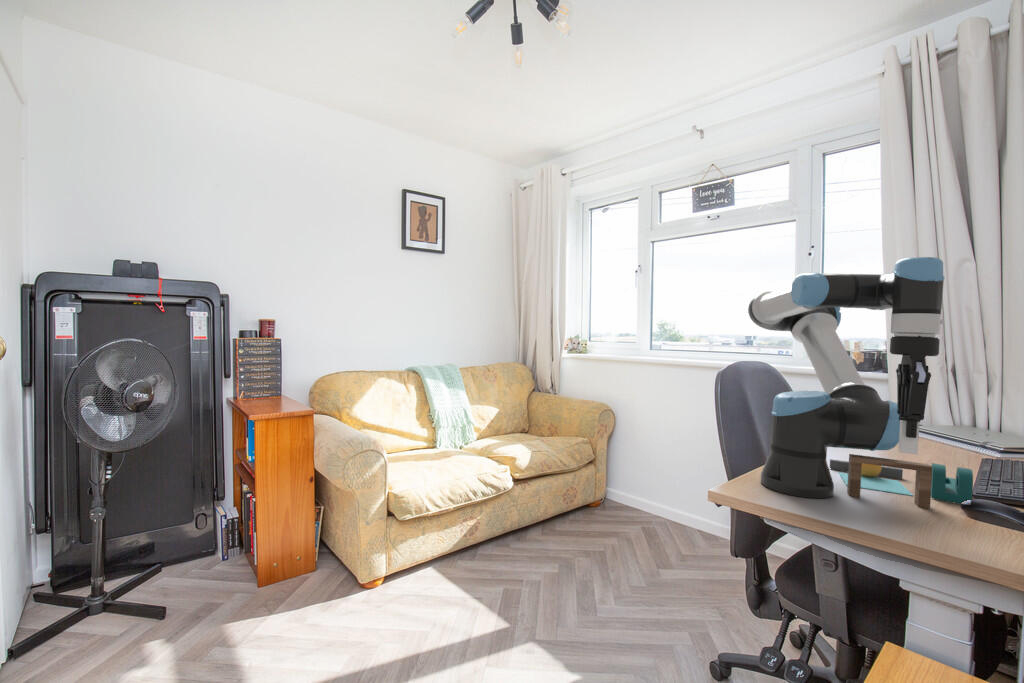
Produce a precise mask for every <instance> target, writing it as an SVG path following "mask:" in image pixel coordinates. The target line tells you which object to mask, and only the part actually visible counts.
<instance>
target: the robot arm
mask: <svg viewBox="0 0 1024 683" xmlns="http://www.w3.org/2000/svg"><path fill="white" fill-rule="evenodd" d="M944 281H945V275H944V261H943V259H940V258H938V257H933V256H932V257H931V256H916V257H908V258H902V259H899V260H897V261H896V262H895V264H894V269H893V271H892V273H886V274H878V273H877V274H873V273H872V274H871V273H870V274H869V273H868V274H866V273H865V274H864V273H863V274H862V273H855V274H854V273H846V274H845V273H820V272H810V273H800V274H798V275H796V277H795V278H794V280H793V281H792V284H791V285H789V286H786V287H783V288H781V289H778V290H777V291H776V290H775V291H765V292H762V293H759V294H757V295H756V296H754V297H753V298H752V299H751V301H750V302H749V304H748V307H747V308H748V309H747V311H748V312H747V313H748V315H749V319H751V321H752V322H753V323H754V324H755V325H757V327H759V328H762V329H765V330H767V331H768V330H769V331H775V332H777V331H778V332H791V335H792V337H793V339H794V340H795V341H797V342H799V343H801V344H802V345H803V347H804V349H805V352H806V353H807V356H808V358H809V361H810V363H811V365H812V367H813V369H814V371H815V373H816V376H817V378H818V380H819V382H820V385H821V387H822V388H823V391H820V390H810V391H809V390H794V391H785V392H781V393H778V394H776V395H775V397H774V398H773V402H772V409H771V412H770V413H771V426H770V427H771V428H770V432H771V433H770V449H769V450H770V451H769V454H768V456H767V459H766V461H765V463H764V466H763V467H762V470H761V473H760V474H761V475H760V483H761V484H762V485H763V486H764V487H766V488H768V489H770V490H774V491H776V492H779V493H782V494H786V495H791V496H794V497H795V496H796V497H801V498H807V499H808V498H811V499H827V498H832V497H833V496H834V492H835V485H834V482H833V478H832V475H831V471H830V468H829V466H828V462H827V457H828V456H827V454H828V453H827V451H828V448H837V449H839V448H840V449H850V450H851V449H853V450H864V451H865V450H867V451H870V452H875V451H890V450H893V449H894V448H895V447H896V446H897V445H898V452H900V453H904V454H909V455H917V456H918V453H919V437H920V436H919V435H920V423H921V421H923V420H924V419H925V412H926V404H927V397H928V396H927V395H928V390H929V384H930V382H931V377H932V374H931V372H929V365H927V362H926V357H938V355H940V343H941V342H940V339H939V337H936V335H937V336H938V335H939V334H940V332H941V325H943V324H945V320H944V319H941V318H942V317H941V315H942V306H943V295H944V294H943V293H944V292H943V291H944ZM841 308H844V309H845V308H847V309H849V308H850V309H866V310H874V311H885V310H887V309H888V310H889V309H892V310H891V320H890V333H891V334H893V336H891V337H890V339H889V340H890V342H889V343H890V345H889V353H890V354H891V355H897V356H898V355H899V356H902V357H901V360H900V361H901V362H900V363H898V365H897V368H896V370H895V372H896V378H897V382H896V384H897V387H896V390H897V395H896V396H897V402H894V401H891V400H882V398H881V396H880V395H879V393H878V391H877V390H876V389H875V388H874V387H872V386H870V385H868V384H865V383H864V381H863V379H862V377H861V375H860V373H859V371H858V370H857V368H856V367H855V365H854V362H853V361H852V359H851V357H850V355H849V353H848V352H847V350H846V348H845V346H844V344H843V343H842V340H841V338H840V337H839V335H838V333H837V332H836V331H837V330H838V327H839V325H840V323H841V319H842V313H841V312H840V311H841Z"/></svg>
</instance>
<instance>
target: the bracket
mask: <svg viewBox="0 0 1024 683" xmlns="http://www.w3.org/2000/svg"><path fill="white" fill-rule="evenodd" d="M930 466H932V483H931V498H934V499H933V500H936V499H938V500H937V501H941V500H943V501H942V502H946V501H949V502H948V503H952V502H955V503H954V504H957V503H959V505H962V504H961V503H962V502H964V501H967V500H972V501H973V493H974V492H973V491H974V490H973V488H974V477H973V469H972V468H967V467H966V468H965V467H960V466H959V467H958V466H957V468H956V471H955V472H956V473H955V478H953V477H950V476H949V477H948V476H947V470H946V469H947V468H946V464H940V463H939V464H938V463H935V462H934V463H933V462H932V463H931V465H930Z"/></svg>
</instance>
